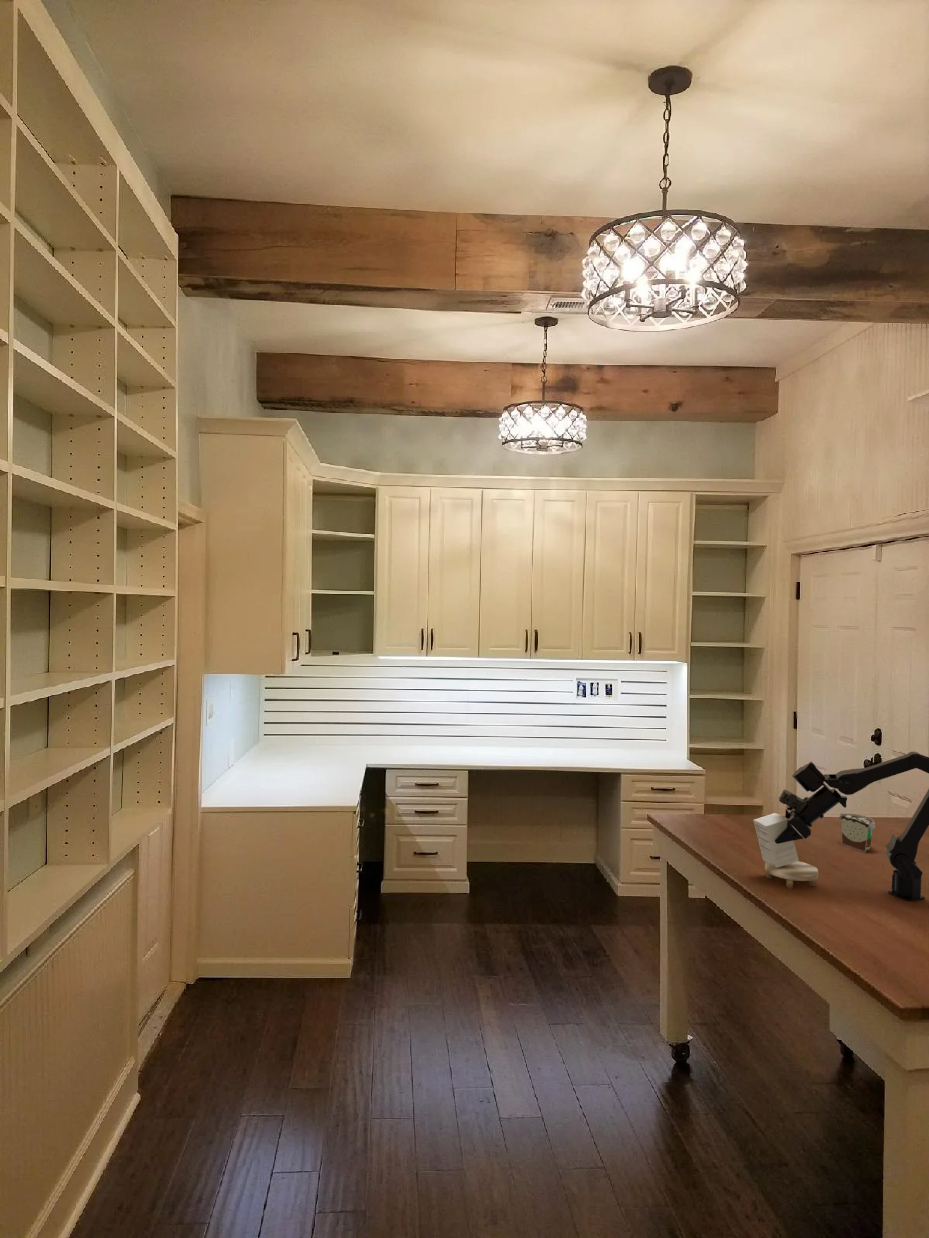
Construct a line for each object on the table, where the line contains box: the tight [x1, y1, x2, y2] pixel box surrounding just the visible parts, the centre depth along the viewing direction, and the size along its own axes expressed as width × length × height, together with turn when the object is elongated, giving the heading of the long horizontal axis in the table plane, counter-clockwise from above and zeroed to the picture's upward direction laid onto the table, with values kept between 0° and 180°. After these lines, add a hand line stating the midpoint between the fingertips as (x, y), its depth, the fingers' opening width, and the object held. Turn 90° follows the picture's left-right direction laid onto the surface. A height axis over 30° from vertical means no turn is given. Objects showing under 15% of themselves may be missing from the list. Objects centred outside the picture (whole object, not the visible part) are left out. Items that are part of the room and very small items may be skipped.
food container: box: [838, 812, 876, 853], centre depth 259 cm, size 12×6×10 cm, turn 22°
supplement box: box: [752, 812, 800, 868], centre depth 226 cm, size 7×7×13 cm
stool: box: [764, 860, 819, 889], centre depth 224 cm, size 14×14×4 cm
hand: (775, 837), depth 226 cm, fingers closed on supplement box, 9 cm apart
